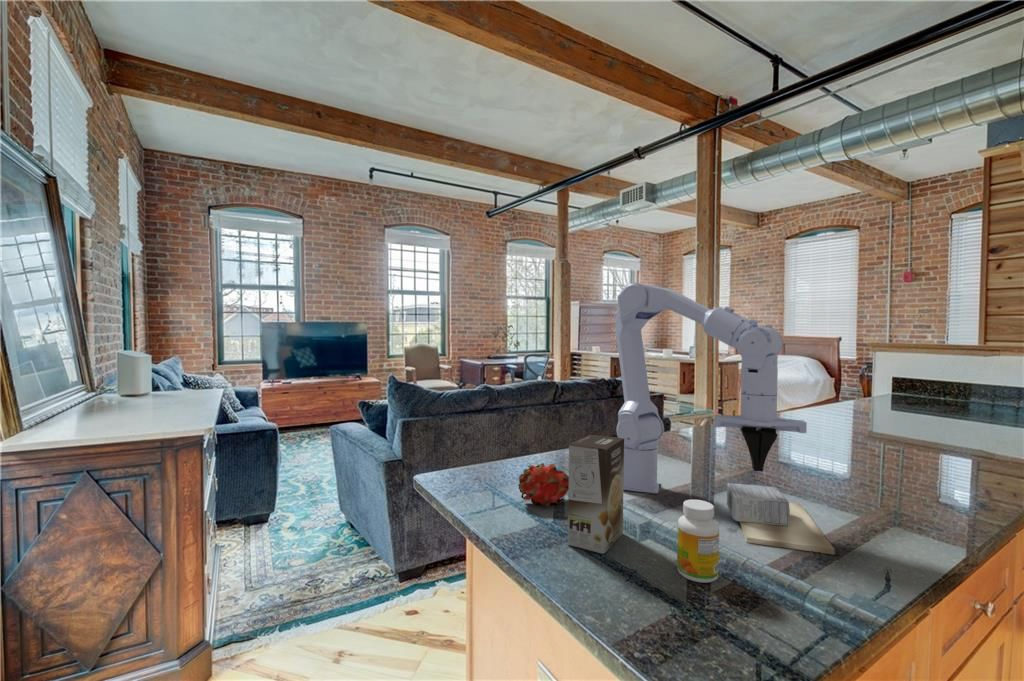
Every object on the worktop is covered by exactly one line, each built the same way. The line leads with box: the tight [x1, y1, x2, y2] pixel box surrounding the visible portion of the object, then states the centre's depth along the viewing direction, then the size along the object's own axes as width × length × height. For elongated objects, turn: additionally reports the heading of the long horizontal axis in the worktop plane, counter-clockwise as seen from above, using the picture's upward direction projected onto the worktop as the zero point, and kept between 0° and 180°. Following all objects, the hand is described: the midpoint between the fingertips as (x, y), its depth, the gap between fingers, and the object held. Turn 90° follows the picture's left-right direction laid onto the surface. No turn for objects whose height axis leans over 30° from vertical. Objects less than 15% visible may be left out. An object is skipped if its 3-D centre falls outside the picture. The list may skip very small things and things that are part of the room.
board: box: [738, 501, 836, 555], centre depth 82 cm, size 12×20×1 cm, turn 161°
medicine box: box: [726, 482, 790, 526], centre depth 83 cm, size 8×4×9 cm
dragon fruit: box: [517, 462, 569, 507], centre depth 91 cm, size 8×8×12 cm
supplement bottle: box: [676, 499, 720, 584], centre depth 64 cm, size 5×5×10 cm
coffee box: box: [567, 434, 624, 555], centre depth 75 cm, size 9×6×16 cm
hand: (757, 469), depth 82 cm, fingers closed
